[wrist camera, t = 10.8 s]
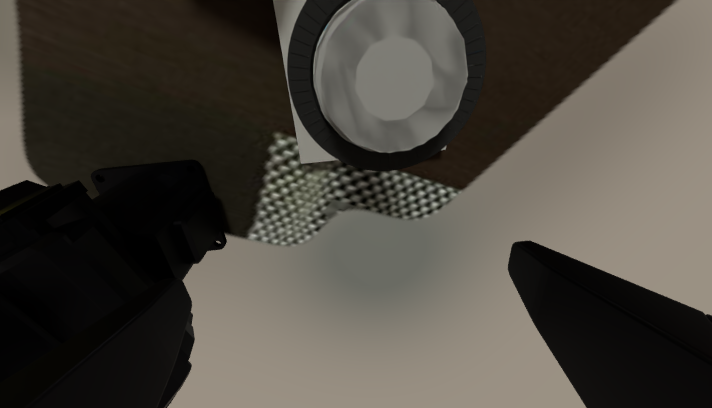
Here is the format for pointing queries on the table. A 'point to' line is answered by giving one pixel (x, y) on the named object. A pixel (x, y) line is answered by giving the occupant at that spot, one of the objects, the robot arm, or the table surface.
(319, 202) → the table surface
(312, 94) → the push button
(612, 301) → the robot arm
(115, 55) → the table surface
